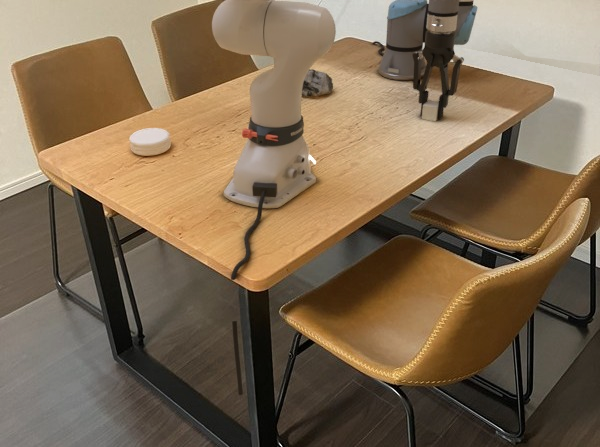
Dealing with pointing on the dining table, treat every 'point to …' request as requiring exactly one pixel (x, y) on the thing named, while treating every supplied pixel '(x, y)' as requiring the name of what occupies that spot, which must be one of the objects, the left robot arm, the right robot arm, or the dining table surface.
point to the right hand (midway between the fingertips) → (431, 116)
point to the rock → (316, 83)
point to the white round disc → (150, 141)
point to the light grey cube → (430, 110)
